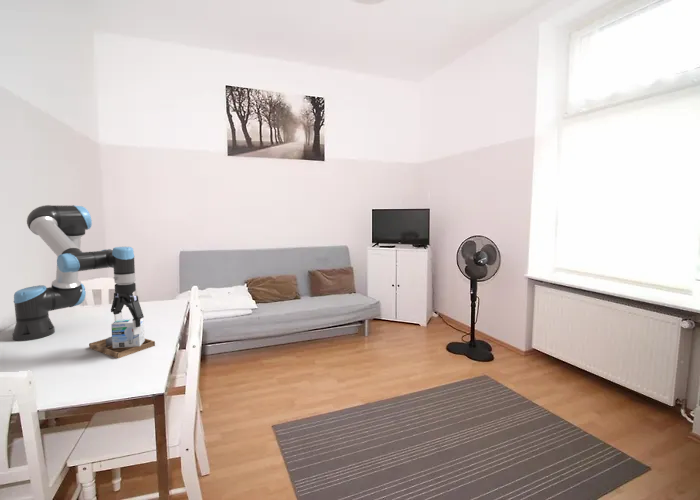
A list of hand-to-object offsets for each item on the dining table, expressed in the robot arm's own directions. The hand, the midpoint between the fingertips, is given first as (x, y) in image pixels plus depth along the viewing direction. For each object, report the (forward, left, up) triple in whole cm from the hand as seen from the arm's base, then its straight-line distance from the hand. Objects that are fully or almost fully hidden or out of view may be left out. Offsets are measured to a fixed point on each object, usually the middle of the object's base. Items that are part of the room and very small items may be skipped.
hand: (127, 331), depth 150 cm
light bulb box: (0, 0, -6) cm, 6 cm away
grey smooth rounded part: (-10, 0, -8) cm, 13 cm away
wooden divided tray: (-5, 0, -8) cm, 10 cm away
